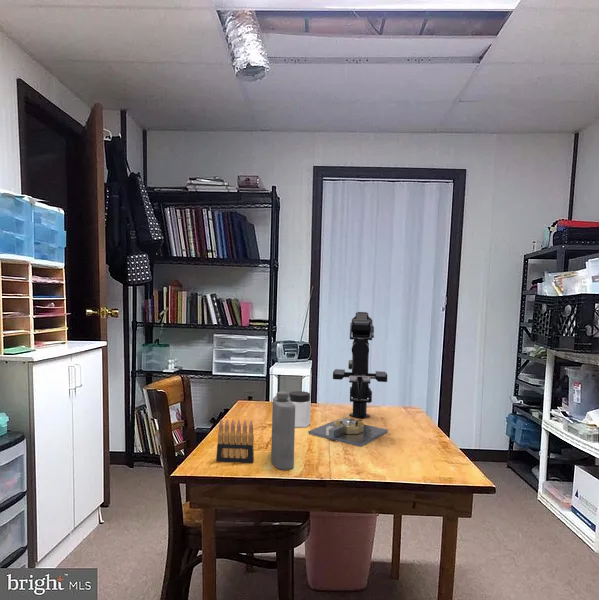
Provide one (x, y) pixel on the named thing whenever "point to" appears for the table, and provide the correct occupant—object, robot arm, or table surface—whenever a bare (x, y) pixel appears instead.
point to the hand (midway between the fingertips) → (359, 400)
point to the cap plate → (354, 439)
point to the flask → (283, 431)
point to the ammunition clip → (236, 450)
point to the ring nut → (346, 428)
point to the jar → (301, 407)
